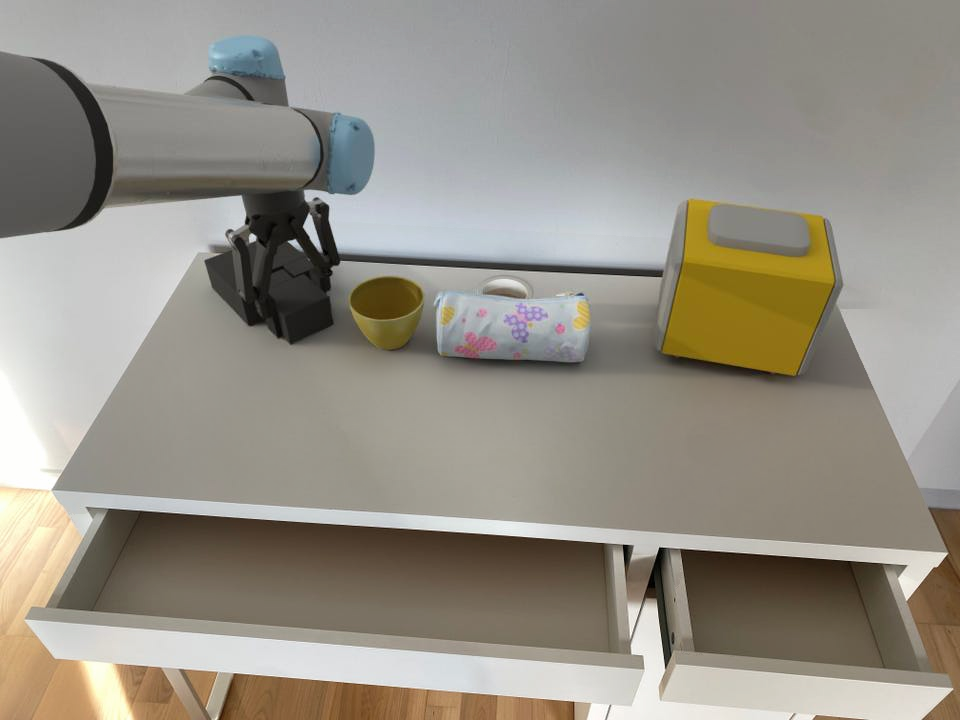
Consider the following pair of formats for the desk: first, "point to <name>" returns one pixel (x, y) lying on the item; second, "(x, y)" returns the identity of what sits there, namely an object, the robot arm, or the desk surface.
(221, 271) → the notch pad
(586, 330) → the pencil case
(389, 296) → the flower pot
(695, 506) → the desk surface
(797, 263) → the alarm clock
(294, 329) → the tab pad
